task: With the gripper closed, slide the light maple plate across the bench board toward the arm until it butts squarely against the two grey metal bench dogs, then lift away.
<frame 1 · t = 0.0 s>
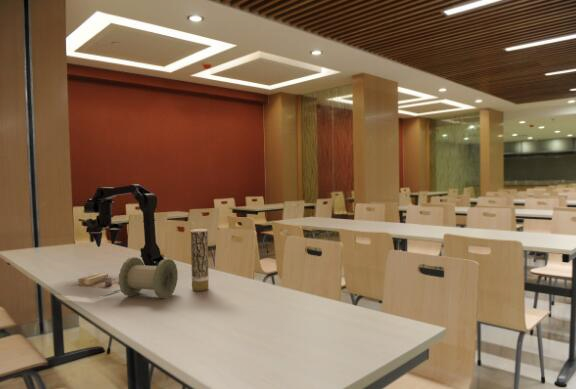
hand: (105, 245, 208), 15 cm above the table, fingers open, 9 cm apart
bench board: (102, 285, 187), on the table
maple plate: (93, 281, 189), point 1 cm above the table, touching bench board
spool: (149, 296, 170), on the table
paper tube: (200, 289, 179), on the table
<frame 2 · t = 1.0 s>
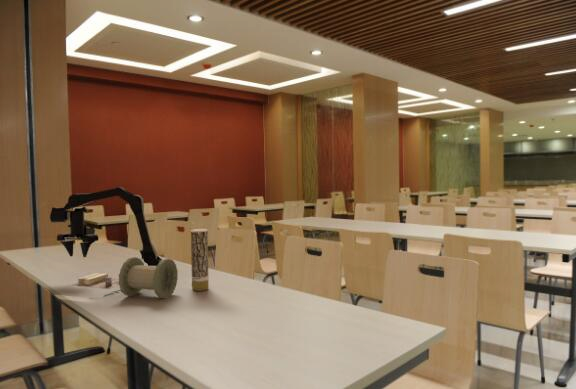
hand: (78, 256, 191), 12 cm above the table, fingers open, 7 cm apart
nothing on the table moved.
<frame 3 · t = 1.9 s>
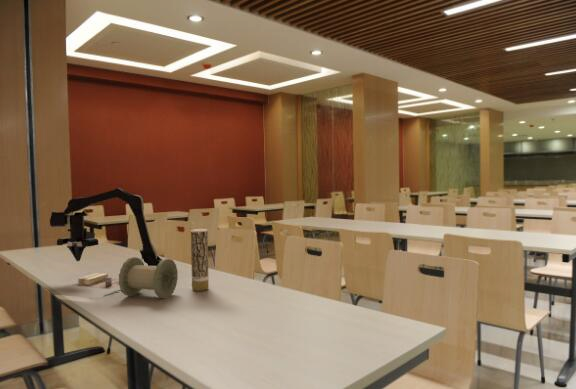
hand: (78, 261, 191), 10 cm above the table, fingers closed
nothing on the table moved.
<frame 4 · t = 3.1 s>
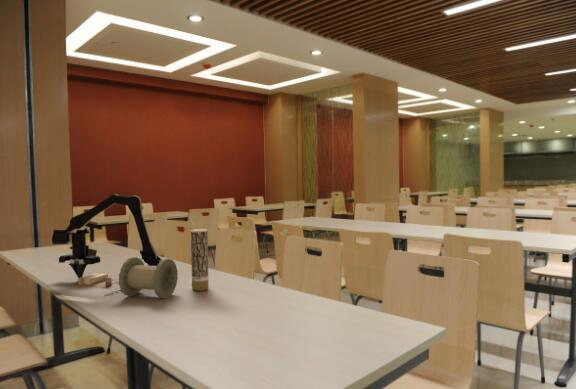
hand: (80, 278, 191), 2 cm above the table, fingers closed
nothing on the table moved.
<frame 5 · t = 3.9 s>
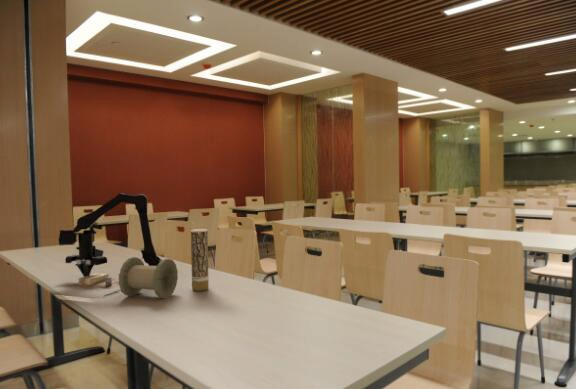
hand: (86, 279, 190), 2 cm above the table, fingers closed
maple plate: (94, 281, 188), point 1 cm above the table, touching bench board, gripper
everything else where it was.
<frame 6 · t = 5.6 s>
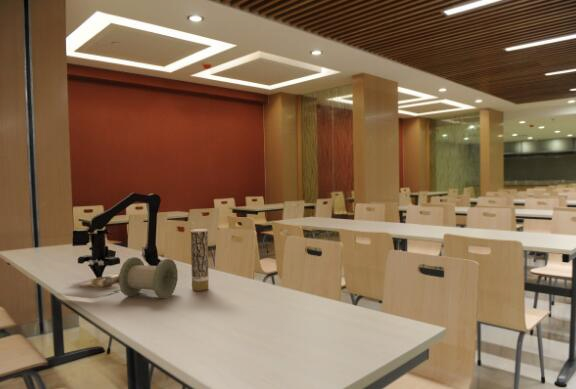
hand: (99, 279, 187), 3 cm above the table, fingers closed
maple plate: (106, 282, 186), point 1 cm above the table, touching bench board, gripper
everything else where it was.
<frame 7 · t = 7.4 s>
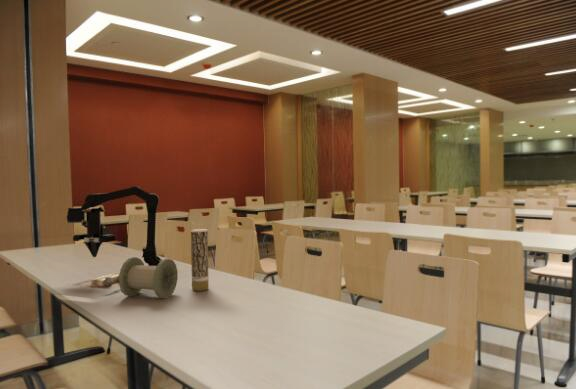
hand: (94, 257, 191), 12 cm above the table, fingers closed
maple plate: (106, 282, 186), point 1 cm above the table, touching bench board
everything else where it was.
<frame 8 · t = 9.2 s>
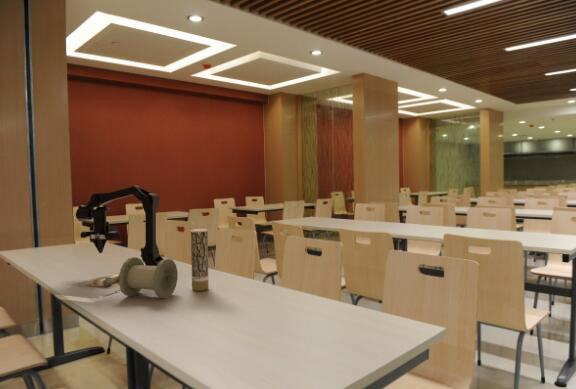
hand: (100, 253, 201), 12 cm above the table, fingers closed
nothing on the table moved.
at the end: maple plate 0.4 cm from the target spot, point 1.5 cm above the table; maple plate tilted 0°; maple plate moved 7.4 cm from its start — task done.
